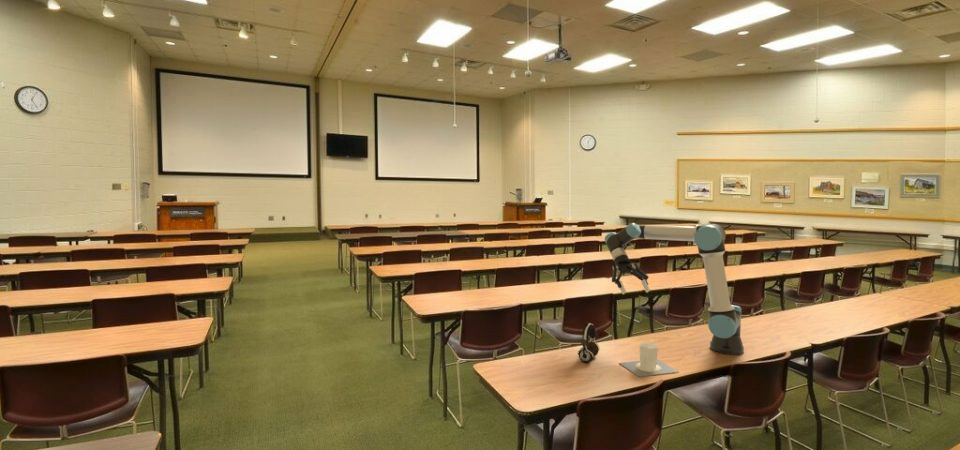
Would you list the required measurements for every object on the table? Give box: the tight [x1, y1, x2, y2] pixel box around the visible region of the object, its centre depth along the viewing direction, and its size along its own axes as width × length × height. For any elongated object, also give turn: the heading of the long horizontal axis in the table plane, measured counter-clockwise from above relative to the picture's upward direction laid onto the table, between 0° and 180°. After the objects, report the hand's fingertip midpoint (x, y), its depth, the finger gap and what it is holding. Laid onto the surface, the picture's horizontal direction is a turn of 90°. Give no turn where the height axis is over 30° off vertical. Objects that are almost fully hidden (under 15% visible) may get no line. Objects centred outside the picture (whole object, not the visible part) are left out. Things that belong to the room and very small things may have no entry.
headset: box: [577, 321, 600, 363], centre depth 218 cm, size 17×8×20 cm, turn 150°
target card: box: [618, 358, 679, 378], centre depth 208 cm, size 20×16×1 cm
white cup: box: [639, 342, 659, 369], centre depth 208 cm, size 8×8×10 cm
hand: (636, 292), depth 230 cm, fingers open, 13 cm apart
